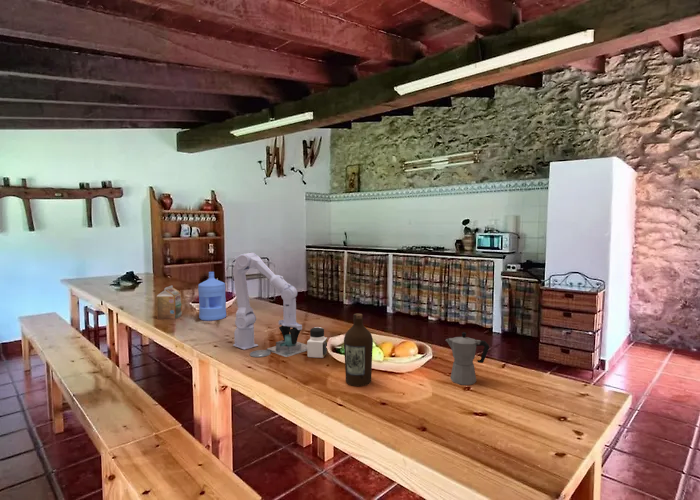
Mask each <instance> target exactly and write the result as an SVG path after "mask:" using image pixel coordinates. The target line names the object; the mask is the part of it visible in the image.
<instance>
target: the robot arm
mask: <svg viewBox="0 0 700 500" xmlns="http://www.w3.org/2000/svg"><path fill="white" fill-rule="evenodd" d="M234 262H235V263H234V266H233V268H232V273H233V274H232V275H233V281H234V282H233V283H234V288H235V295H236V303H237V310H236V312H235V321H234V325H235V326H236V328H235V329H234V333H233V334H234V337H233V338H234V343H233V344H232V347H236V348H238V349H240V350H248V349H252V348H255V347H259V345H258V344H257V343H255V323H256V321H257V317H256V314H255V313H254V309H253V307H252V306H251V303H250V297H249V290H248V289H249V288H248V283H247V277H246V273H247V272H248V271H249V270H250V269H253V270H257V271H259V272H260V273H261V274H263V276H265V277H266V278H267V279H268V280H269V284H270V285H271V286H272V288H274V289H275V290H276V291H277V292H278V293H279V294H280V296H281V299H282V300H283V301H282V302H283V307H282V311H283V315H282V316H283V319H280V320H278V325H279V327H278V328H279V330H280V332H281V335H282V338H283V340H284V341H285V335H287V334H291V341H292V344H296V343H297V342H298V338H299V335H300V333H301V331H302V330H303V324H300V323H299V322H297V302H296V301H297V296H298V290H297V287H296V286H294V285H291V283H289V282H287V280H285V279H284V276H283V275H280V274H275V272H273V271H272V270H271V269H270V268H269V266H267V264H266V263H265V262H264V261H263V260H262V258H261V257H260V256H259V255H258V254H256V253H255V252H253V251H252V252H247V253H241V254H239V255H238V256H237V257H236V258H235V260H234Z"/></svg>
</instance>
